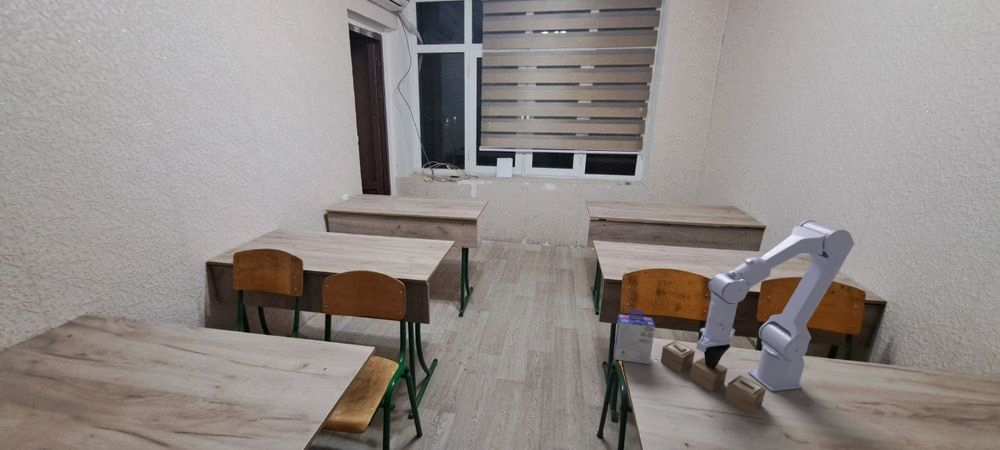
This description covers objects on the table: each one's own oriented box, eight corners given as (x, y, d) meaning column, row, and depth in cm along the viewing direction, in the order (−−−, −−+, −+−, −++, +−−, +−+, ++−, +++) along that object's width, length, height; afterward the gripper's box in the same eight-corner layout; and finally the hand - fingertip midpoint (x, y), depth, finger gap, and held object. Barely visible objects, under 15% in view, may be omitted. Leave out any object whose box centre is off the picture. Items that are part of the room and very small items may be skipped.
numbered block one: (736, 391, 99) (740, 373, 97) (761, 405, 94) (766, 387, 93) (724, 400, 96) (728, 382, 94) (749, 415, 91) (754, 396, 89)
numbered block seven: (672, 355, 113) (675, 339, 112) (692, 366, 108) (695, 349, 107) (660, 361, 110) (663, 345, 108) (679, 373, 105) (682, 356, 104)
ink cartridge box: (647, 353, 113) (654, 310, 109) (650, 365, 108) (657, 319, 104) (613, 349, 115) (618, 305, 111) (614, 360, 110) (620, 315, 106)
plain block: (702, 372, 106) (705, 356, 105) (723, 384, 101) (727, 368, 100) (689, 379, 103) (692, 363, 102) (711, 392, 98) (714, 376, 97)
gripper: (719, 306, 104) (710, 350, 108) (688, 320, 96) (680, 366, 100) (747, 318, 98) (736, 363, 102) (716, 333, 91) (706, 382, 94)
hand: (710, 366), depth 101 cm, fingers closed
